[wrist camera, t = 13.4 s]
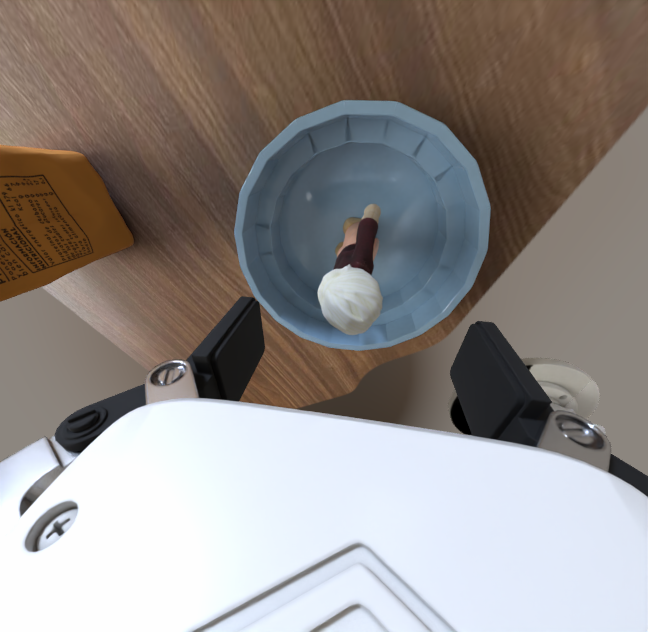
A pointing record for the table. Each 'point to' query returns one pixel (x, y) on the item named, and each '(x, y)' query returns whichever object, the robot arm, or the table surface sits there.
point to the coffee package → (52, 217)
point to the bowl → (350, 201)
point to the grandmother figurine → (353, 277)
